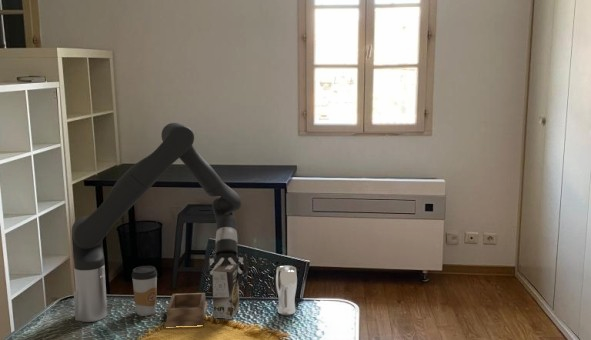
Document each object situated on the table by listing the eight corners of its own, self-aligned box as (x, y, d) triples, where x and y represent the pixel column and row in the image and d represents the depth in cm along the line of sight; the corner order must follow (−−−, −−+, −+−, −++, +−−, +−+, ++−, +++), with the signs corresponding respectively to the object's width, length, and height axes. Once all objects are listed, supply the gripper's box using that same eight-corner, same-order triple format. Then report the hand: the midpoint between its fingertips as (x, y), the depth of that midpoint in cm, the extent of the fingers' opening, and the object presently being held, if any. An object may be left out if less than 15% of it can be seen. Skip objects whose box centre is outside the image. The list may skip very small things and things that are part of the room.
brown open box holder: (164, 328, 172) (163, 313, 171) (172, 304, 191) (172, 290, 191) (203, 327, 173) (202, 312, 172) (207, 303, 192) (207, 289, 192)
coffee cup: (143, 319, 179) (141, 274, 177) (128, 313, 184) (126, 270, 182) (164, 311, 185) (162, 268, 183) (148, 305, 190) (146, 263, 188)
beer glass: (297, 307, 188) (297, 265, 186) (295, 316, 181) (295, 272, 179) (277, 307, 189) (277, 264, 187) (275, 315, 182) (274, 271, 180)
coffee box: (231, 320, 178) (230, 272, 176) (212, 318, 179) (211, 270, 177) (240, 309, 187) (239, 263, 185) (222, 308, 188) (220, 262, 186)
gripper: (205, 238, 187) (203, 282, 178) (247, 237, 189) (247, 280, 179) (206, 249, 193) (205, 292, 184) (247, 247, 195) (248, 290, 185)
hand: (226, 286), depth 181 cm, fingers open, 8 cm apart
